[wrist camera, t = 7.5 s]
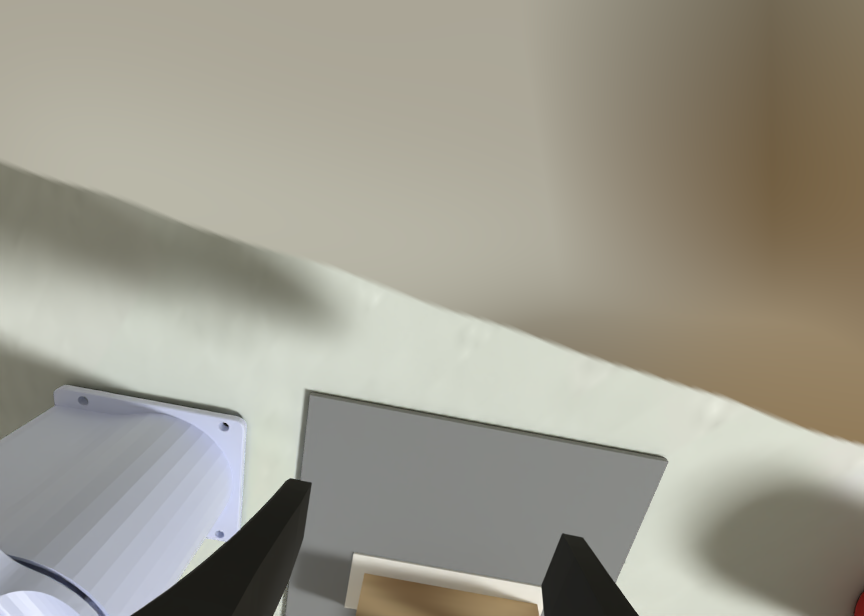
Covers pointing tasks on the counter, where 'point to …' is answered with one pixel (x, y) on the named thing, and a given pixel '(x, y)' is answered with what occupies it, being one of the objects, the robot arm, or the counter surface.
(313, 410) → the mat
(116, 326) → the counter surface
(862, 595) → the canned food
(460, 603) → the oak T-block
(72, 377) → the counter surface
